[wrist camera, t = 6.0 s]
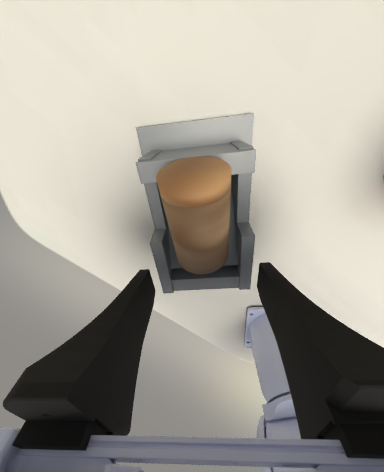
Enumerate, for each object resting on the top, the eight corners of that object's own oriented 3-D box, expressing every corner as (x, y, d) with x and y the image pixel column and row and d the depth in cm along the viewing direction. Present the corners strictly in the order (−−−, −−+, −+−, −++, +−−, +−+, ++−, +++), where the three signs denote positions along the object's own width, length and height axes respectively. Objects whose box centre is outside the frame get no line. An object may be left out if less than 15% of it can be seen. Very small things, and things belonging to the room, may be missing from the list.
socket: (243, 256, 20) (259, 302, 15) (167, 260, 21) (157, 306, 16) (251, 113, 13) (284, 109, 8) (138, 127, 14) (102, 132, 9)
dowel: (225, 233, 14) (227, 153, 10) (230, 273, 12) (236, 187, 7) (179, 236, 14) (162, 160, 10) (174, 275, 12) (149, 194, 8)
